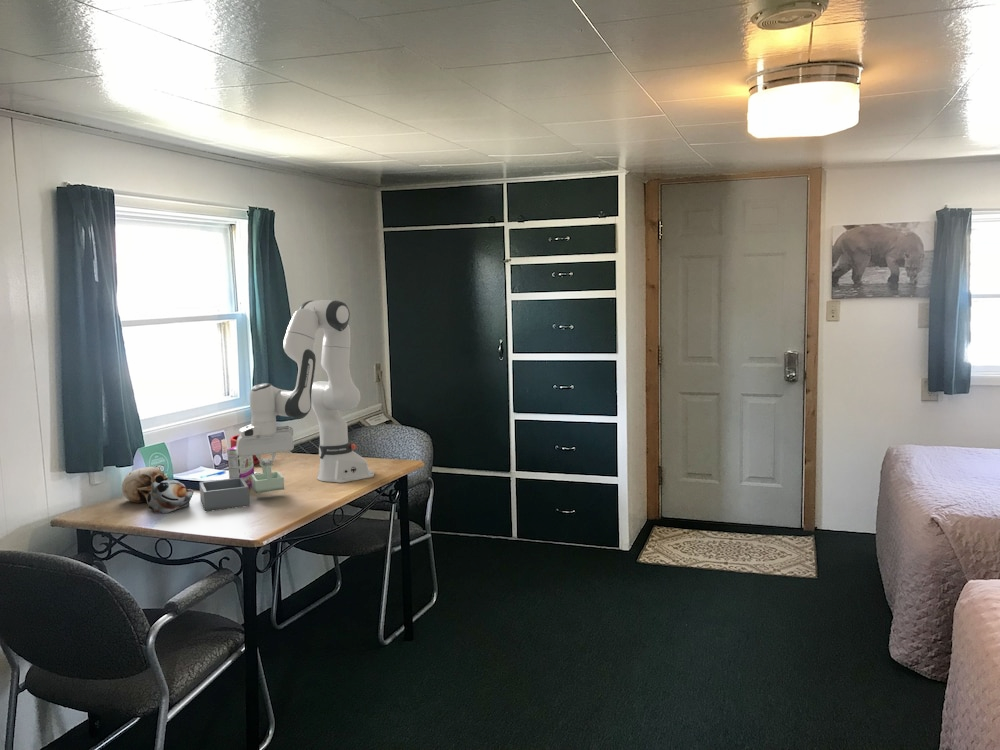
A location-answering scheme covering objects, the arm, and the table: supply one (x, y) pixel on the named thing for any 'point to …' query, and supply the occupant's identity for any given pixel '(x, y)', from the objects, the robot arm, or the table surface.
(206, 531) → the table surface
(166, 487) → the lucky cat figurine
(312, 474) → the table surface
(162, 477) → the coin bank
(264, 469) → the small crate
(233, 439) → the plant pot
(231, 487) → the large crate
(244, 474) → the candy bar box
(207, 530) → the table surface
